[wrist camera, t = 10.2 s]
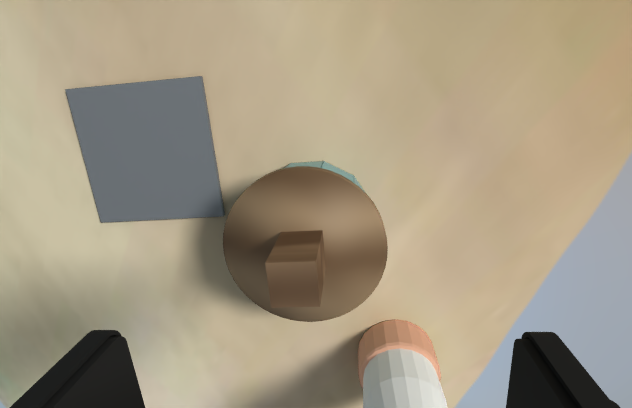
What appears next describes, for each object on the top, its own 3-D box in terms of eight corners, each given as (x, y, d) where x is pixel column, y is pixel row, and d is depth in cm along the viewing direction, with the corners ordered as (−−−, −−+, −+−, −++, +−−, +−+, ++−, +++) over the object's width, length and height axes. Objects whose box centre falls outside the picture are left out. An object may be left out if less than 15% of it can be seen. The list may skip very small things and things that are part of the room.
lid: (215, 171, 26) (177, 193, 20) (383, 160, 25) (393, 180, 19) (239, 315, 30) (212, 368, 24) (388, 312, 28) (397, 368, 22)
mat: (68, 89, 31) (65, 89, 31) (202, 76, 30) (200, 76, 29) (103, 220, 34) (100, 222, 34) (224, 214, 33) (223, 216, 33)
